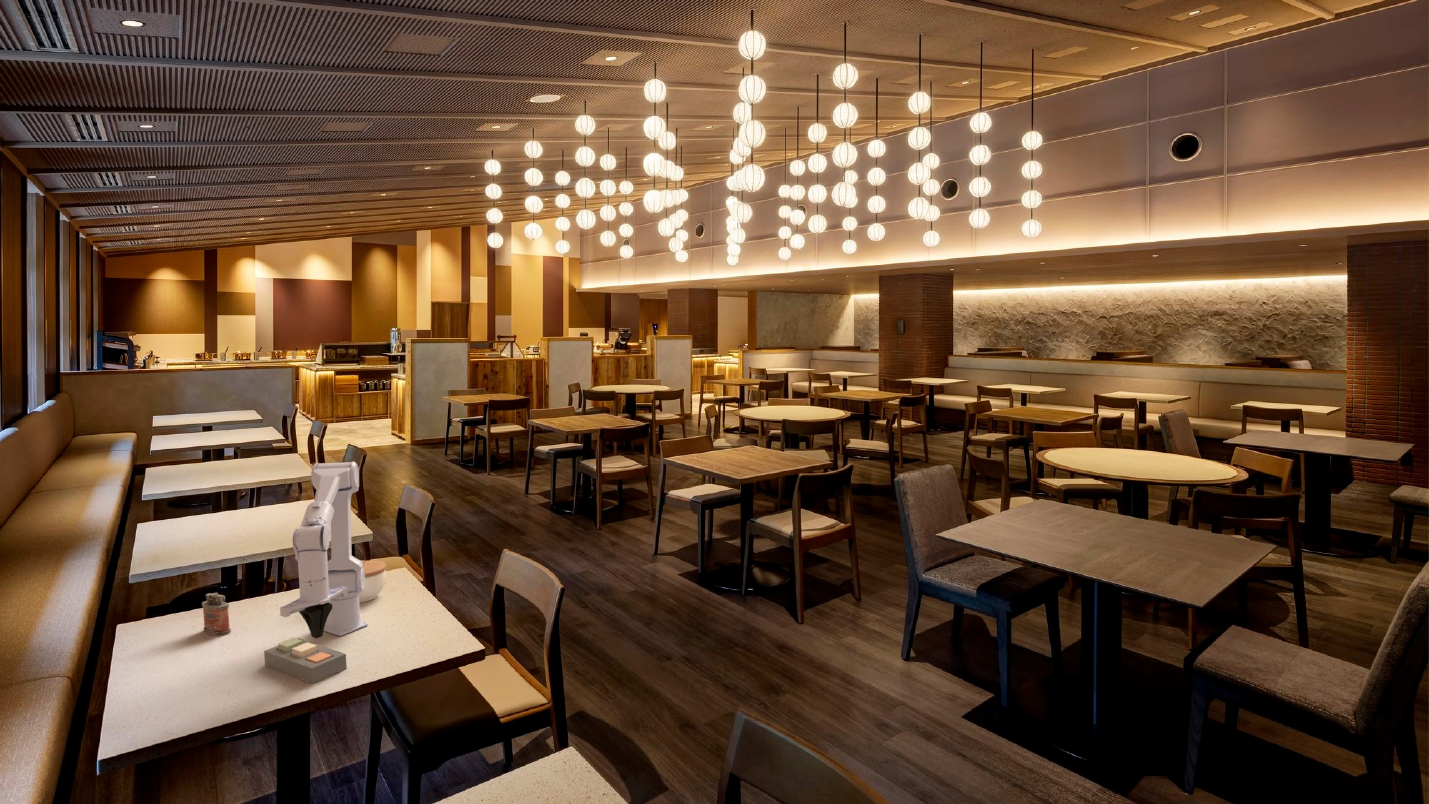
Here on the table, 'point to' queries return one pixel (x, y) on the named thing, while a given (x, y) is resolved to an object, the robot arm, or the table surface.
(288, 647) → the sage key
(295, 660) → the keypad
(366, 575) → the lidded bowl
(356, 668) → the table surface
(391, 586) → the table surface
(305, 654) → the cream key
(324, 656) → the terracotta key
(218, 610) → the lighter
